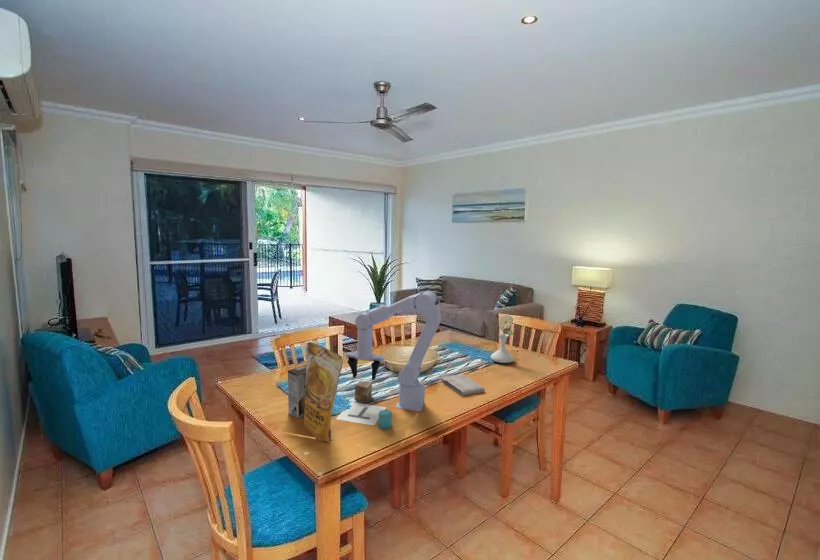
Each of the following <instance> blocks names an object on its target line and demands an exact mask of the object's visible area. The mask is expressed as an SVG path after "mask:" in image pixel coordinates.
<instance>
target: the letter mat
mask: <svg viewBox="0 0 820 560" xmlns="http://www.w3.org/2000/svg"><path fill="white" fill-rule="evenodd" d="M350 404H351V405H350ZM348 405H350V406H352V407H350V409H347V410H345V411H343V410H342V411H343V412H342V411H341V412H340V413H339V415H338V416H337V417H336V418H335V420H339V421H344V422H352V423H357V424H361V425H367V426H368V425H370V426H375V425H376V424H377V422H378V417H379V412H380V411H382V410H387V406H379V405H374V404H367V403H362V402H361V403H360V402H355V401H354V402H353V401H350V402H349V403H348Z"/></svg>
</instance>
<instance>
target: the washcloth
mask: <svg viewBox="0 0 820 560" xmlns="http://www.w3.org/2000/svg"><path fill="white" fill-rule="evenodd" d="M440 381H441V382H442V384H444V385H445V386H446V387H448V388H449V389H450V390H452V391H453V392H455V393H456V394H457V395H459V396H460V397H465V396H469V395H476V394H480V393H481V394H482V393H484V392H485V387H484V386H482V385H481V384H479V383H478V382H476V381H475V380H473V379H471V378H470V377H469V376H467V375H465V374H464V373H457V374H455V375H454V374H453V375H452V374H451V375H449V374H448V375H445V376H442V377H441V379H440Z"/></svg>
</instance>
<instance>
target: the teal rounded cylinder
mask: <svg viewBox="0 0 820 560" xmlns="http://www.w3.org/2000/svg"><path fill="white" fill-rule="evenodd" d="M377 422H378V423H377V425H378V427H377V428H379V429H381V430H388V429H390V428H391V429H392V427H393V426H392V425H393V412H392V410H388V409H385V410H382V411H380V412H379V417H378V421H377Z"/></svg>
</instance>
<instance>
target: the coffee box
mask: <svg viewBox="0 0 820 560" xmlns="http://www.w3.org/2000/svg"><path fill="white" fill-rule="evenodd" d="M305 382H306V364H304V365H301V366H297V367H295V368H292V369H289V370H287V388H288V389H287V391H288V392H287V394H288V395H287V400H288V403H287V404H288V406H287V407H288V408H287V409H288V414H289V415H290V416H292V417H296V418H297V419H298V418H299V419H301V418H302V417H303V418H304V411H305V399H306V384H305Z"/></svg>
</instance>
